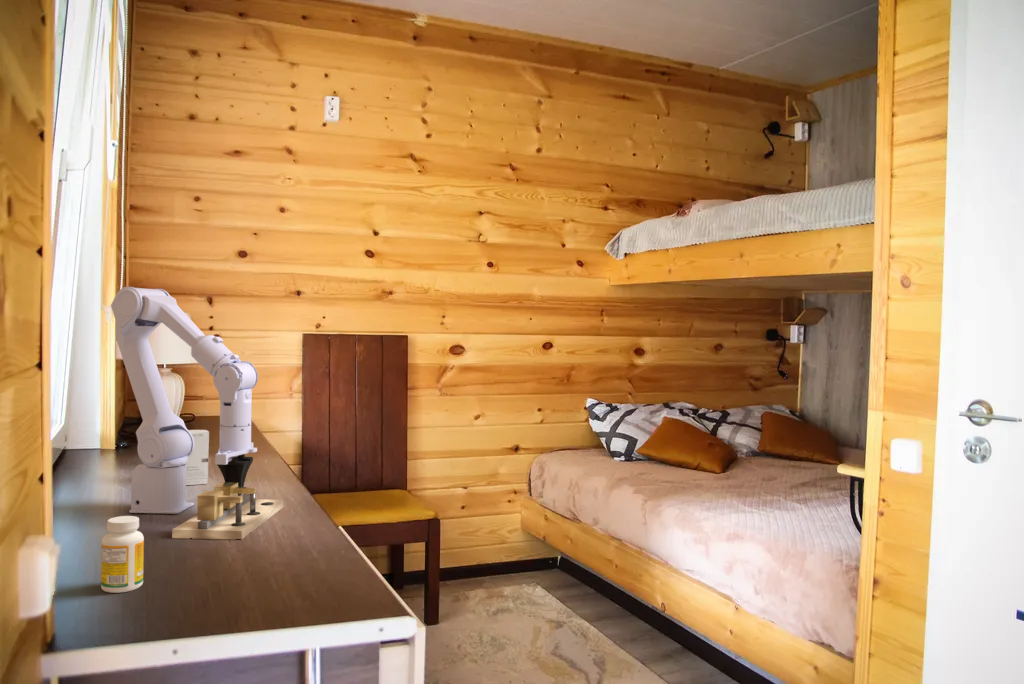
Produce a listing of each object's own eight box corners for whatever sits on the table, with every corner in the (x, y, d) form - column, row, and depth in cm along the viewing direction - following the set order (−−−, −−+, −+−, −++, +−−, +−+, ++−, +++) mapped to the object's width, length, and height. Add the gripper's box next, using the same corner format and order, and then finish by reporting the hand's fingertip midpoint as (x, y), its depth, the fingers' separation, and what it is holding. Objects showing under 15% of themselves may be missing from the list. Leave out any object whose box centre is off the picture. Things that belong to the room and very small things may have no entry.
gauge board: (172, 538, 137) (172, 497, 137) (224, 505, 161) (224, 471, 161) (241, 539, 137) (242, 499, 137) (283, 507, 161) (283, 472, 161)
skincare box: (180, 486, 178) (181, 432, 178) (176, 483, 182) (176, 430, 182) (209, 484, 182) (209, 431, 182) (204, 480, 186) (205, 428, 185)
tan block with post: (213, 513, 146) (214, 486, 146) (221, 508, 150) (222, 482, 150) (251, 514, 146) (252, 487, 146) (258, 509, 150) (259, 483, 150)
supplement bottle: (111, 596, 108) (111, 526, 108) (94, 587, 112) (94, 519, 111) (150, 586, 112) (151, 519, 112) (133, 578, 116) (133, 512, 115)
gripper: (242, 430, 145) (241, 504, 146) (268, 420, 160) (267, 488, 160) (204, 429, 145) (203, 503, 146) (233, 420, 160) (233, 487, 160)
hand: (234, 495), depth 153 cm, fingers closed
